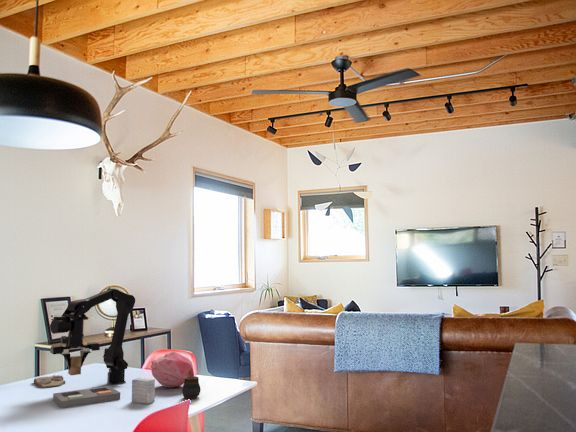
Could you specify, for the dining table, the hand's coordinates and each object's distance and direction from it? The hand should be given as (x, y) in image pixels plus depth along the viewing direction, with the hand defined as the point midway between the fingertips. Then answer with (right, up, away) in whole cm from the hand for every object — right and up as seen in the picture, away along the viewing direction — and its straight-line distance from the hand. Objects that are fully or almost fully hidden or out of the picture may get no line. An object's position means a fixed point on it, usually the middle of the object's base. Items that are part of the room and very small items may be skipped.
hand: (74, 368), depth 223 cm
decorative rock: (+39, -11, +9) cm, 41 cm away
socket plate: (+10, -9, -12) cm, 18 cm away
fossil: (-17, -11, +14) cm, 25 cm away
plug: (0, -2, 0) cm, 2 cm away
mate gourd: (+50, -9, -9) cm, 52 cm away
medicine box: (+33, -9, -15) cm, 37 cm away
